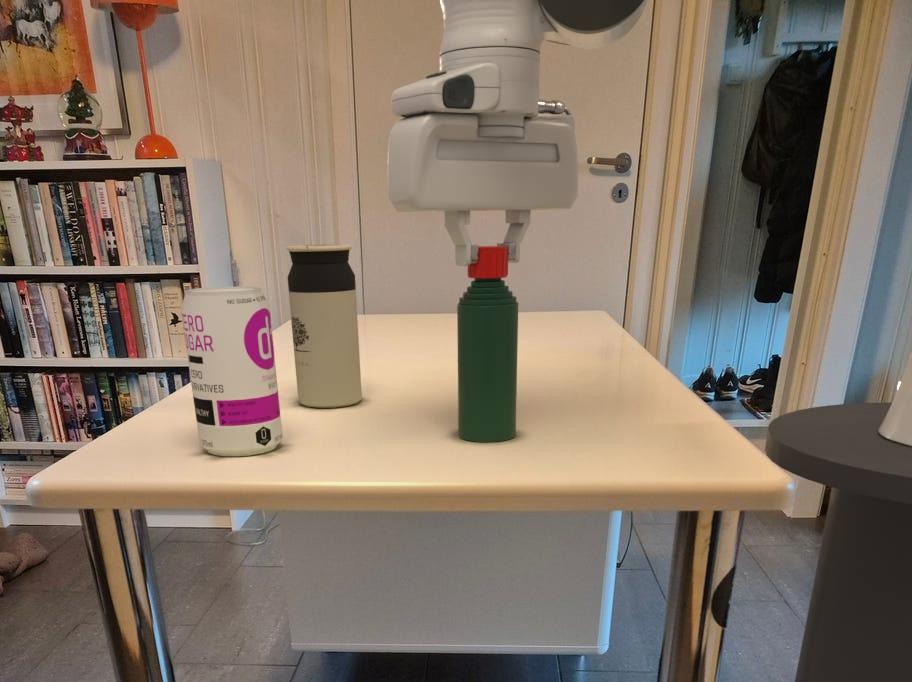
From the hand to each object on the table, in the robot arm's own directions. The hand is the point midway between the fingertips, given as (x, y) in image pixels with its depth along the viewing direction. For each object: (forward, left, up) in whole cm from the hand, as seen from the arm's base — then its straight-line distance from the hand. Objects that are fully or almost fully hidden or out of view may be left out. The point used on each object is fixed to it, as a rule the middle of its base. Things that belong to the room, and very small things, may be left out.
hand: (487, 264), depth 82 cm
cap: (0, 0, -1) cm, 1 cm away
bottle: (0, 0, -16) cm, 17 cm away
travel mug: (+22, -16, -17) cm, 32 cm away
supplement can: (+24, +8, -17) cm, 30 cm away
